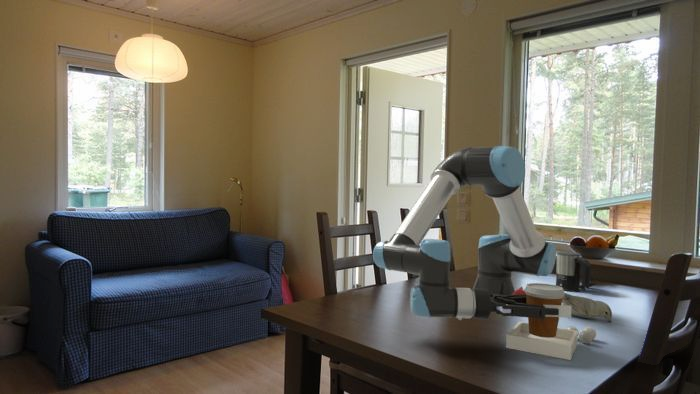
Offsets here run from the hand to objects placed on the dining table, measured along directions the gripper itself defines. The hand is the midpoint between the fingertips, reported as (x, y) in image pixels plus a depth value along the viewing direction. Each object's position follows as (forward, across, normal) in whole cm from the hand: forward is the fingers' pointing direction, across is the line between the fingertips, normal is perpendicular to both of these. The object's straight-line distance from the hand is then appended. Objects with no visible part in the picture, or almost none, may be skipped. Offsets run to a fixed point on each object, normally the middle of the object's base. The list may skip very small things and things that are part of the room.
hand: (562, 307), depth 121 cm
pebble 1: (+6, -7, -10) cm, 14 cm away
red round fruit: (+1, -35, -10) cm, 37 cm away
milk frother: (+38, -76, -10) cm, 86 cm away
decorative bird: (+19, -30, -10) cm, 37 cm away
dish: (-5, 0, -10) cm, 11 cm away
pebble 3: (+10, -7, -10) cm, 16 cm away
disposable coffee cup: (-5, 0, -7) cm, 9 cm away
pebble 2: (+8, -3, -10) cm, 13 cm away
